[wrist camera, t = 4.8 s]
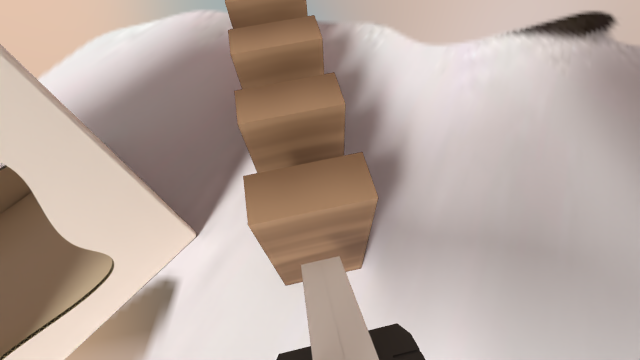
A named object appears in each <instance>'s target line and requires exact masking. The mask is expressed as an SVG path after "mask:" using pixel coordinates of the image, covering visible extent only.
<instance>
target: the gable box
mask: <svg viewBox="0 0 640 360" xmlns="http://www.w3.org/2000/svg"><path fill="white" fill-rule="evenodd" d="M0 163H2V164H4V165H5V166H3V167H2V168H0V360H65V359H66V358H67V357H68V356H69V355H70V354H71V353H72V352H73V351H74V350H75V349H76V348H78V347H79V346H80V345H81V344H82V343H83V342H84V341H85V340H86V339H87V338H88V337H89V336H90V335H91V334H93V333H94V332H95V331H96V330H97V329H98V328H99V327H100V326H101V325H102V324H103V323H104V322H105V321H106V320H108V319H109V318H110V317H111V316H112V315H113V314H114V313H115V312H116V311H117V310H118V309H119V308H120V307H121V306H123V305H124V304H125V303H126V302H127V301H128V300H129V299H130V298H131V297H132V296H133V295H134V294H135V293H136V292H137V291H139V290H140V289H141V288H142V287H143V286H144V285H145V284H146V283H147V282H148V281H149V280H150V279H151V278H152V277H154V276H155V275H156V274H157V273H158V272H159V271H160V270H161V269H162V268H163V267H164V266H165V265H166V264H167V263H169V262H170V261H171V260H172V259H173V258H174V257H175V256H176V255H177V254H178V253H179V252H180V251H181V250H182V249H184V248H185V247H186V246H187V245H188V244H189V243H190V242H191V241H192V240H193V239H194V238H195V237H196V232H195V231H194V230H193V229H192V228H191V227H190V226H189V225H188V224H187V223H186V222H185V221H184V220H183V219H182V218H181V217H180V216H179V215H178V214H177V213H176V212H174V211H173V210H172V209H171V208H170V207H169V206H168V205H167V204H166V203H165V202H164V201H163V200H162V199H161V198H160V197H159V196H158V195H157V194H156V193H155V192H154V191H153V190H152V189H151V188H150V187H149V186H147V185H146V184H145V183H144V182H143V181H142V180H141V179H140V178H139V177H138V176H137V175H136V174H135V173H134V172H133V171H132V170H131V169H130V168H129V167H128V166H127V165H126V164H125V163H124V162H123V161H122V160H120V159H119V158H118V157H117V156H116V155H115V154H114V153H113V152H112V151H111V150H110V149H109V148H108V147H107V146H106V145H105V144H104V143H103V142H102V141H101V140H100V139H99V138H98V137H97V136H96V135H94V134H93V133H92V132H91V131H90V130H89V129H88V128H87V127H86V126H85V125H84V124H83V123H82V122H81V121H80V120H79V119H78V118H77V117H76V116H75V115H74V114H73V113H72V112H71V111H70V110H68V109H67V108H66V107H65V106H64V105H63V104H62V103H61V102H60V101H59V100H58V99H57V98H56V97H55V96H54V95H53V94H52V93H51V92H50V91H49V90H48V89H47V88H46V87H45V86H43V85H42V84H41V83H40V82H39V81H38V80H37V79H36V78H35V77H34V76H33V75H32V74H31V73H30V72H29V71H28V70H27V69H26V68H25V67H24V66H23V65H22V64H21V63H19V62H18V61H17V60H16V59H15V58H14V57H13V56H12V55H11V54H10V53H9V52H8V51H7V50H6V49H5V48H4V47H3V46H2V45H1V44H0Z"/></svg>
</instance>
